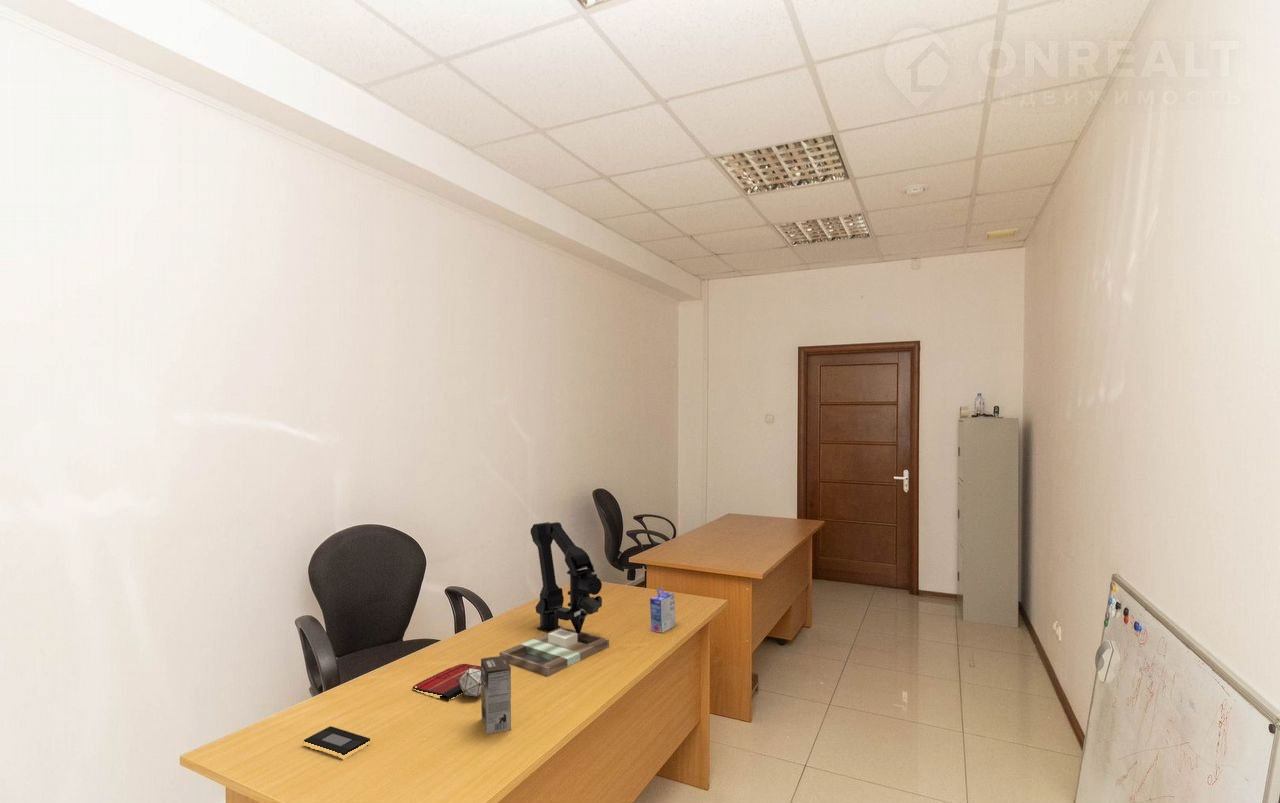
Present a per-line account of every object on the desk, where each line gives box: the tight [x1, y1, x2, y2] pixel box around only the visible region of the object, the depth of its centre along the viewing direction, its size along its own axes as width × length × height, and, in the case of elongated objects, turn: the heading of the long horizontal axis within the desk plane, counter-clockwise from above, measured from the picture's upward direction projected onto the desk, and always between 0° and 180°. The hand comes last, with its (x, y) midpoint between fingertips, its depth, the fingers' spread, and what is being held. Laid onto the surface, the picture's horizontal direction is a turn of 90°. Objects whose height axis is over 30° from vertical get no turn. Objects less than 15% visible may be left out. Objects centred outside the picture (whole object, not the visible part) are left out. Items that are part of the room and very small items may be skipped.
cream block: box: [548, 629, 578, 648], centre depth 214 cm, size 8×6×3 cm
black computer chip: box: [303, 725, 371, 755], centre depth 154 cm, size 8×14×2 cm, turn 64°
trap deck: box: [499, 626, 610, 677], centre depth 211 cm, size 22×30×2 cm
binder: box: [412, 663, 481, 701], centre depth 189 cm, size 16×2×21 cm
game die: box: [455, 664, 481, 700], centre depth 180 cm, size 9×8×10 cm
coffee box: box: [480, 655, 512, 735], centre depth 163 cm, size 9×6×16 cm
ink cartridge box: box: [649, 587, 677, 634], centre depth 235 cm, size 10×6×14 cm, turn 145°
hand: (578, 632), depth 220 cm, fingers closed
